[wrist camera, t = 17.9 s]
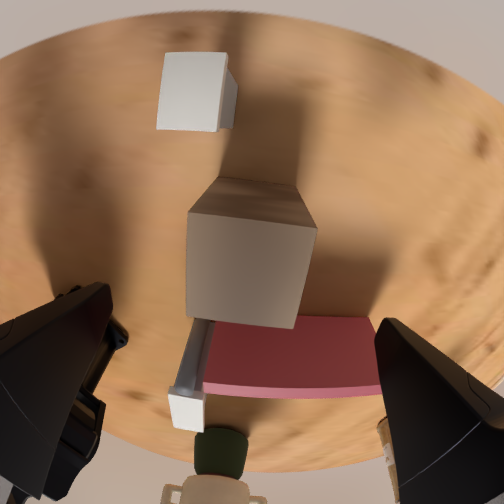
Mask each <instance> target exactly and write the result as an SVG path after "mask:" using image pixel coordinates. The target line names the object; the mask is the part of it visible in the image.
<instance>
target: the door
mask: <svg viewBox="0 0 504 504" xmlns="http://www.w3.org/2000/svg"><path fill="white" fill-rule="evenodd" d="M375 335H376V333H375V330H374V328H373V326H372V324H371V322H370V319H369V317H323V316H298V315H297V317H296V320H295V324H294V328H293V329H286V328H276V327H266V326H257V325H248V324H239V323H231V322H224V321H216V323H215V328H214V333H213V337H212V342H211V346H210V351H209V356H208V361H207V365H206V370H205V375H204V380H203V388H204V393H210V394H219V395H229V396H241V397H257V398H281V399H319V398H343V397H358V396H369V395H379V394H382V390H381V386H380V381H379V375H378V367H377V360H376V352H375V346H374V338H375Z"/></svg>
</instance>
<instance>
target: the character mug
mask: <svg viewBox="0 0 504 504" xmlns="http://www.w3.org/2000/svg"><path fill="white" fill-rule="evenodd" d="M247 450H248V439H246V438H245V437H244V436H243V435H242V434H240V433H238V432H235V431H233V430H230V429H223V428H212V429H205V430H204V432H203V433H202V432H198V433H197V435H196V436H195V446H194V468H195V471H196V473H197V475H193V476H189V477H187V479H186V480H185V482H184V483H183V486H182V487H181V486H177V485H172V484H166V485H165V486H164V488H163V493H162V498H161V504H175V503H171V502H170V501H171V496H172V492H174V493H179V494H181V497H180V503H179V504H249V503H257V504H267V500H266V498H265V497H262V496H250V492H249V487H248V485H247V484H246V483H244V482H242V481H239V479H240V477H241V476H242V473H243V469H244V465H245V461H246V456H247Z"/></svg>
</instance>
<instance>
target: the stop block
mask: <svg viewBox="0 0 504 504" xmlns="http://www.w3.org/2000/svg"><path fill="white" fill-rule="evenodd" d="M317 229H318V228H317V226H316V224H315V222H314V221H313V219H312V217H311V215H310V213H309V211H308V209H307V207H306V205H305V203H304V201H303V199H302V198H301V196H300V194H299V192H298V190H297V188H296V187H295V186H289V185H282V184H275V183H267V182H260V181H252V180H243V179H235V178H225V177H217V178H216V180H215V181H214V182H213V183H212V184H211V185H210V186H209V188H208V189H207V190H206V191H205V192H204V193H203V195H202V196H201V197H200V198H199V199H198V201H197V202H196V203H195V204H194V205H193V207H192V208H191V209H190V210H189V211H188V218H187V249H186V316H189V317H196V318H202V319H209V320H216V321H224V322H231V323H239V324H248V325H257V326H266V327H276V328H286V329H293V328H294V324H295V320H296V317H297V313H298V309H299V305H300V301H301V297H302V293H303V289H304V285H305V281H306V277H307V273H308V269H309V265H310V260H311V256H312V252H313V247H314V243H315V238H316V234H317Z"/></svg>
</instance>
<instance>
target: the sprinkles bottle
mask: <svg viewBox="0 0 504 504" xmlns="http://www.w3.org/2000/svg"><path fill="white" fill-rule="evenodd" d="M377 432H378V433H379V435H380V439H381V442H382V446H383V452H384V456H385V459H386V463H387V467H388V471H389V475H390V479H391V482H392V485H393V491H394V495H395V502H396V504H400V500H399V491H398V488H399V487H398V481H397V473H396V466H395V459H394V452H393V446H392V440H391V434H390V429H389V424H388V419H387V418H386V419H385V420H383V421H382V422H381V423H380V424H379V425H378V427H377Z"/></svg>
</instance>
